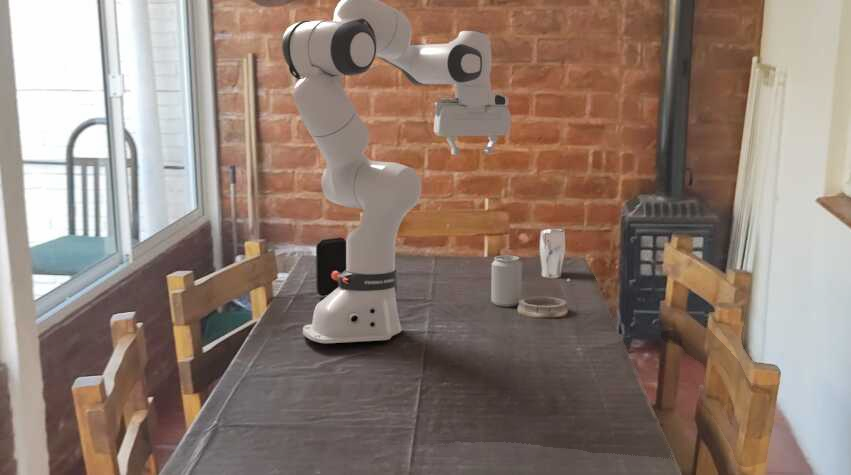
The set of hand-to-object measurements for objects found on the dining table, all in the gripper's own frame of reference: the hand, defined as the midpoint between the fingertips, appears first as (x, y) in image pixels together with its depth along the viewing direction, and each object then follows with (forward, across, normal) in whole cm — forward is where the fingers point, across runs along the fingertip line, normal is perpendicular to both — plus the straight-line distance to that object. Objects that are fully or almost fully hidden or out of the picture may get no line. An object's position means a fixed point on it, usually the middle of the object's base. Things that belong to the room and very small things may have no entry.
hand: (472, 154), depth 226 cm
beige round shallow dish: (+37, +10, -19) cm, 43 cm away
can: (+37, +6, -8) cm, 39 cm away
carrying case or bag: (+37, -30, +19) cm, 52 cm away
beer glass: (+37, +30, +8) cm, 48 cm away
